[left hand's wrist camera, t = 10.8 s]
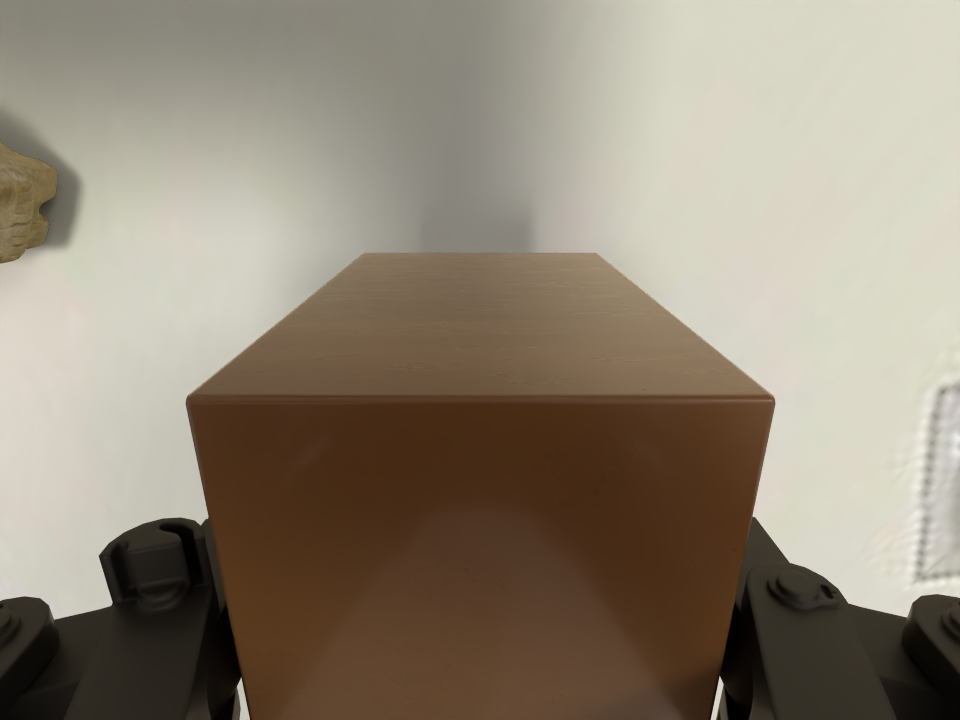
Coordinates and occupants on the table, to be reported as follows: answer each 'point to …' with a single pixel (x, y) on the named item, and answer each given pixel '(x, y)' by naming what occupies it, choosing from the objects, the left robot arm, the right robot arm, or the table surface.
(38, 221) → the sculpture
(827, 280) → the table surface
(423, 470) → the post
